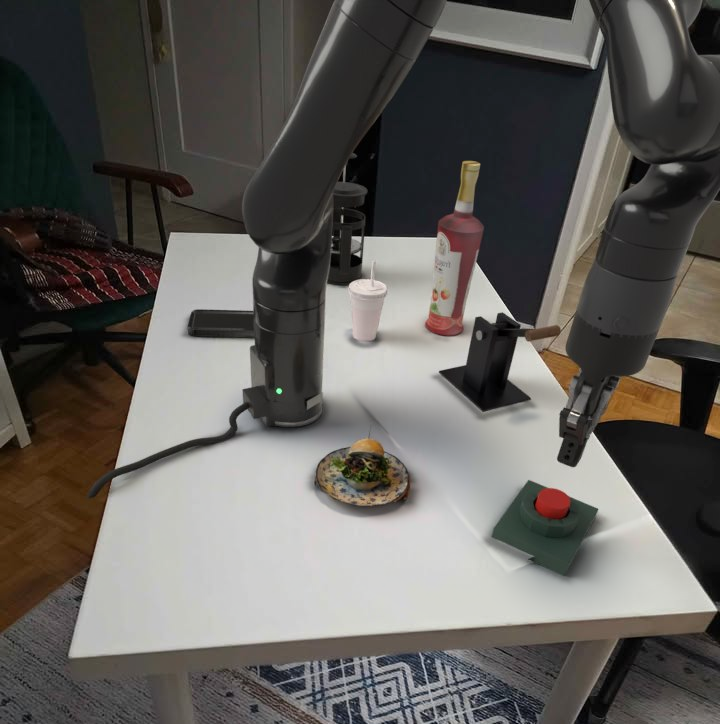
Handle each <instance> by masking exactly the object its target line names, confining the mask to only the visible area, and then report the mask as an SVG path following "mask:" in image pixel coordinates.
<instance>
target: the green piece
mask: <svg viewBox="0 0 720 724" xmlns="http://www.w3.org/2000/svg"><path fill="white" fill-rule="evenodd" d="M546 488H548V486H545V485H542V484H540V483H538V482H535V481H533V480H531V479H528V480H527V481H526V482H525V484H524V486H523V487H522V488H521V489H520V491H519V492H518V494H517V495H516V497H515V498H514V500H513V501H512V502H511V503H510V505H509V506H508V508H507V509H506V511H504V513H503V515H502V516H501V517H500V519H499V520H498V522H497V523H496V525H495V526H494V527H493V529H492V533H491V538H493V539H495V540H497V541H500V542H502V543H504V544H506V545H509V546H511V547H513V548H515V549H517V550H519V551H521V552H523V553H526V554H528V555H530V556H532V557H530V558H528V559H527V561H530V562H532V563H535V564H537V565H539V566H541V567H543V568H545V569H548V570H550V571H552V572H553V573H556V574H558V575H561V576H563V577H565V576H566V574H567V573H568V570H569V568H570V566H571V565H572V563H573V561H574V559H575V557H576V556H577V553H578V551H579V550H580V548H581V546H582V544H583V542H584V541H585V537H586V535H587V533H588V532H589V529H590V528H591V526H592V524H593V523H594V520H595V519H596V517H597V514H598V511H599V508H598V507H596V506H593V505H591V504H588V503H585V502H583V501H581V500H579V499H576V498H574V497H571V496H569V498H570V506H569V508H568V511H567V514H566V516H565V517H564V518H562V519H560V520H557V519H549V518H547V517H544V516H542V515H540V514H539V513H538V512H537V511H536V508H535V504H536V501H537V498H538V495H539V492H540V491H541V490H543V489H546Z"/></svg>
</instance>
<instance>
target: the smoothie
mask: <svg viewBox="0 0 720 724" xmlns="http://www.w3.org/2000/svg"><path fill="white" fill-rule="evenodd" d="M376 263H377V262H376V260H374V259H373V260H372V261H371V270H370V278H362V279H360V280H355V281H353V282H351V283H350V284H349V285H348V290H347V292H348V294H349V296H350V307H351V308H350V309H351V326H352V337H353V338H354V339H355V340H357V341H360V342H371V341H374V340H375V339H376V337H377V333H378V329H379V325H380V321H381V316H382V312H383V308H384V303H385V298H386V297H387V296H388V286H387V285H386V284H385V283H383V282H381V281H379V280H375V275H376Z"/></svg>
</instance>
